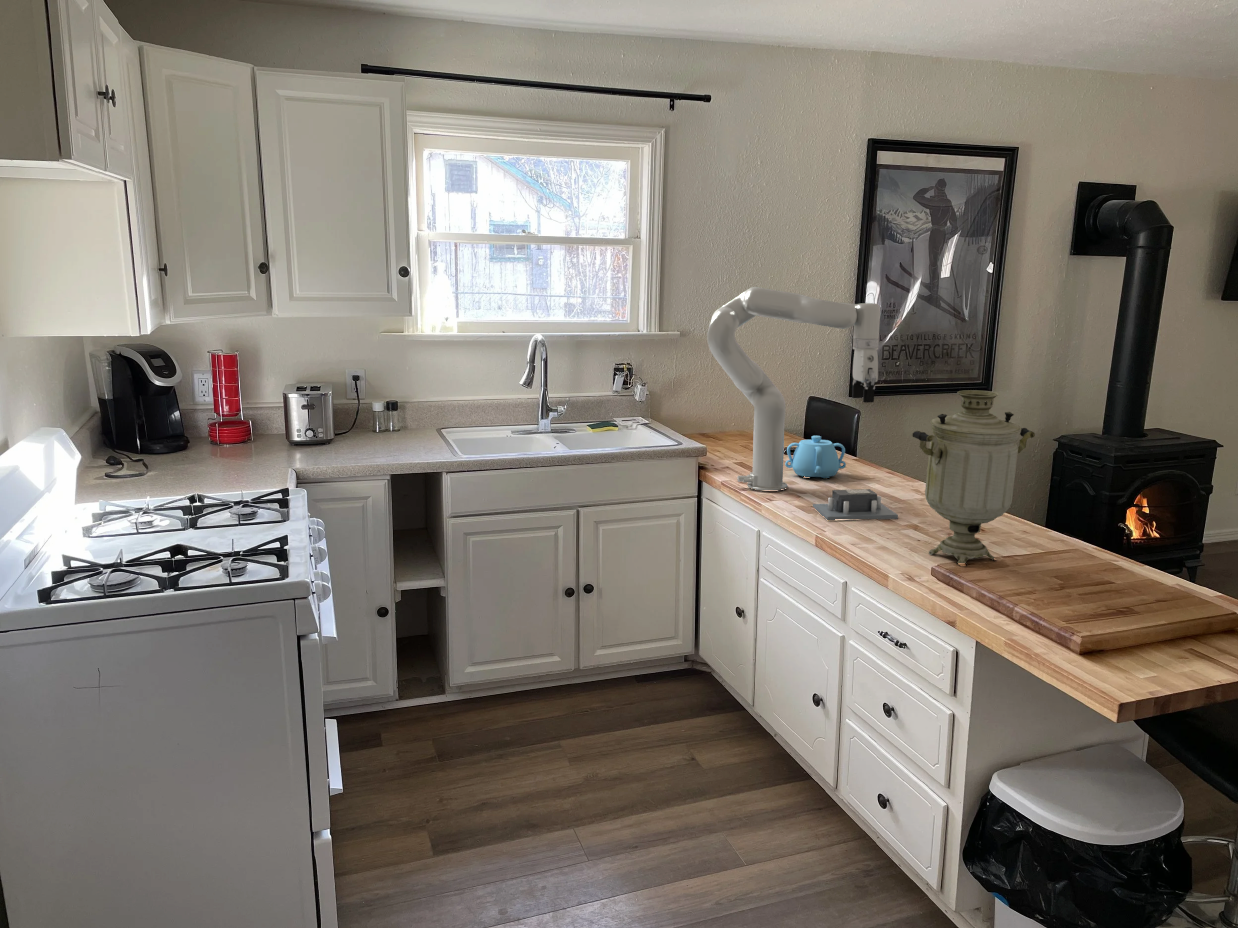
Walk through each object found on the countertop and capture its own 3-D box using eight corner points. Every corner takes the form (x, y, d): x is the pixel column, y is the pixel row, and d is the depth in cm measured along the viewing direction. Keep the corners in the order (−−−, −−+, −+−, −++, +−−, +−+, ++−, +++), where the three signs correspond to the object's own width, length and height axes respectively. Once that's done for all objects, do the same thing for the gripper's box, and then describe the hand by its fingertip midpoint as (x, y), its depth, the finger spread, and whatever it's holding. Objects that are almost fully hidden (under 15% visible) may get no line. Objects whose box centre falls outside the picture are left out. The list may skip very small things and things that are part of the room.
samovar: (996, 537, 236) (1009, 383, 228) (1046, 569, 211) (1062, 397, 202) (882, 539, 236) (891, 384, 227) (918, 572, 210) (929, 399, 202)
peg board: (827, 520, 252) (828, 504, 252) (812, 508, 266) (813, 492, 265) (897, 518, 254) (898, 502, 253) (879, 506, 268) (880, 490, 267)
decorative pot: (815, 468, 318) (817, 430, 315) (850, 477, 305) (851, 437, 302) (780, 474, 310) (781, 435, 307) (814, 483, 296) (815, 442, 294)
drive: (838, 512, 257) (839, 494, 256) (831, 506, 262) (832, 489, 261) (876, 511, 257) (877, 493, 256) (868, 505, 263) (869, 488, 262)
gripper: (888, 346, 271) (884, 403, 274) (867, 342, 287) (864, 396, 291) (863, 347, 270) (860, 404, 274) (844, 342, 287) (841, 396, 290)
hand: (862, 400), depth 282 cm, fingers open, 9 cm apart
